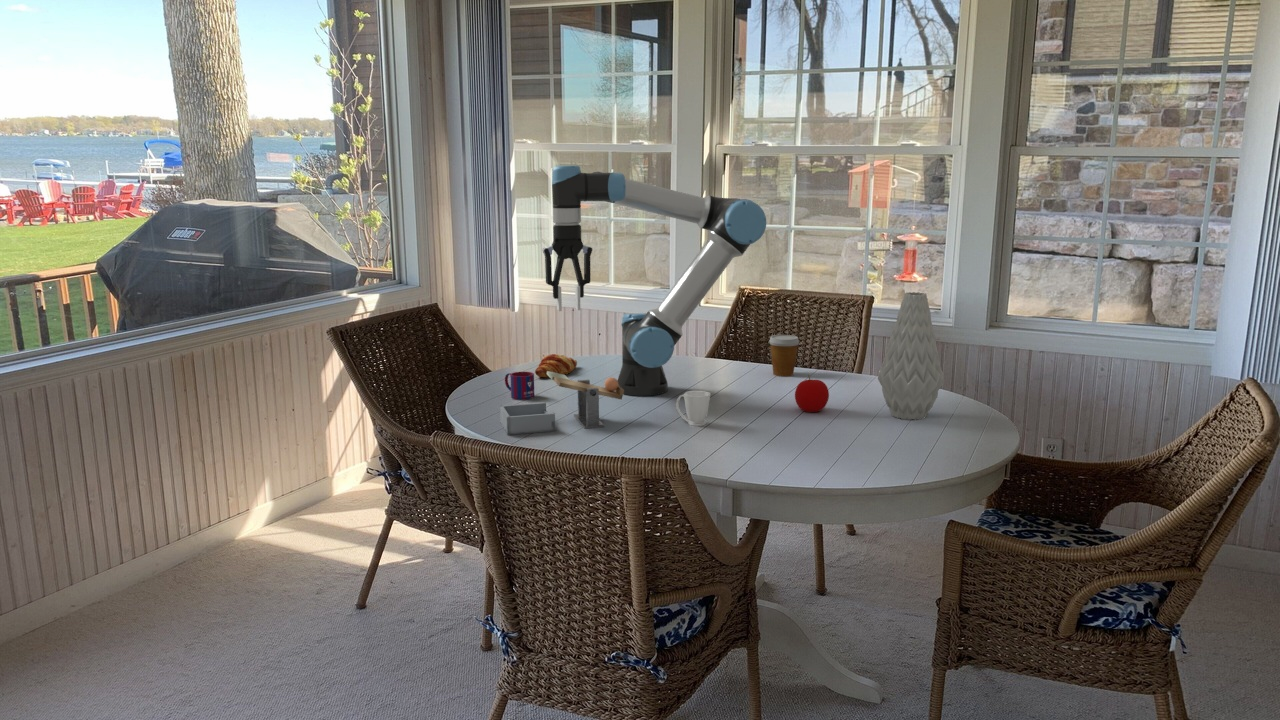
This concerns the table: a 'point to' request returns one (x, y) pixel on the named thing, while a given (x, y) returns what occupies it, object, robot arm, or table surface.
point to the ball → (611, 384)
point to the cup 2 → (695, 406)
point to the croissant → (555, 365)
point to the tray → (526, 418)
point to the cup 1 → (521, 385)
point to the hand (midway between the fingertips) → (568, 309)
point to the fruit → (811, 395)
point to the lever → (583, 385)
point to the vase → (911, 361)
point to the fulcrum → (588, 407)
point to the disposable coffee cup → (783, 354)
